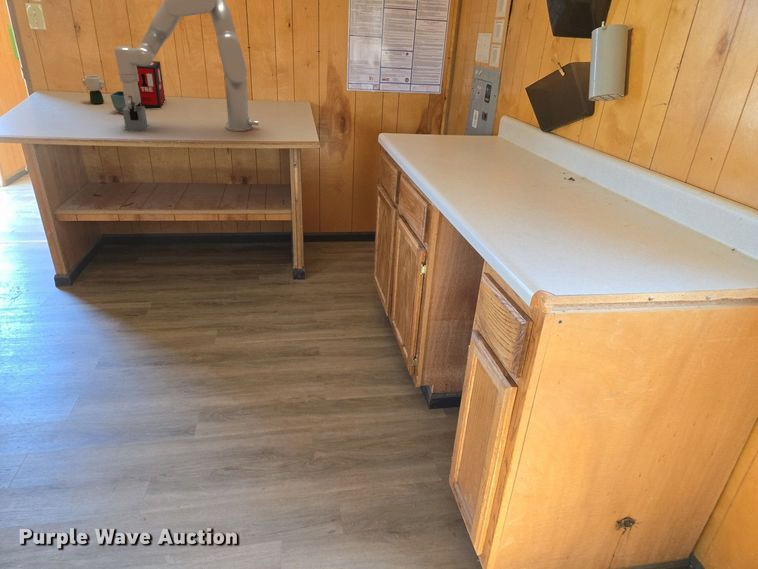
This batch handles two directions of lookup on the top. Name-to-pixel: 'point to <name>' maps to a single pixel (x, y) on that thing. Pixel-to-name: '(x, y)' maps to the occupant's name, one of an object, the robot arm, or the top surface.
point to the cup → (135, 124)
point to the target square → (142, 130)
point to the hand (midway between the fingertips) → (137, 117)
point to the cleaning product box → (151, 85)
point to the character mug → (94, 88)
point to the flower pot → (118, 101)
